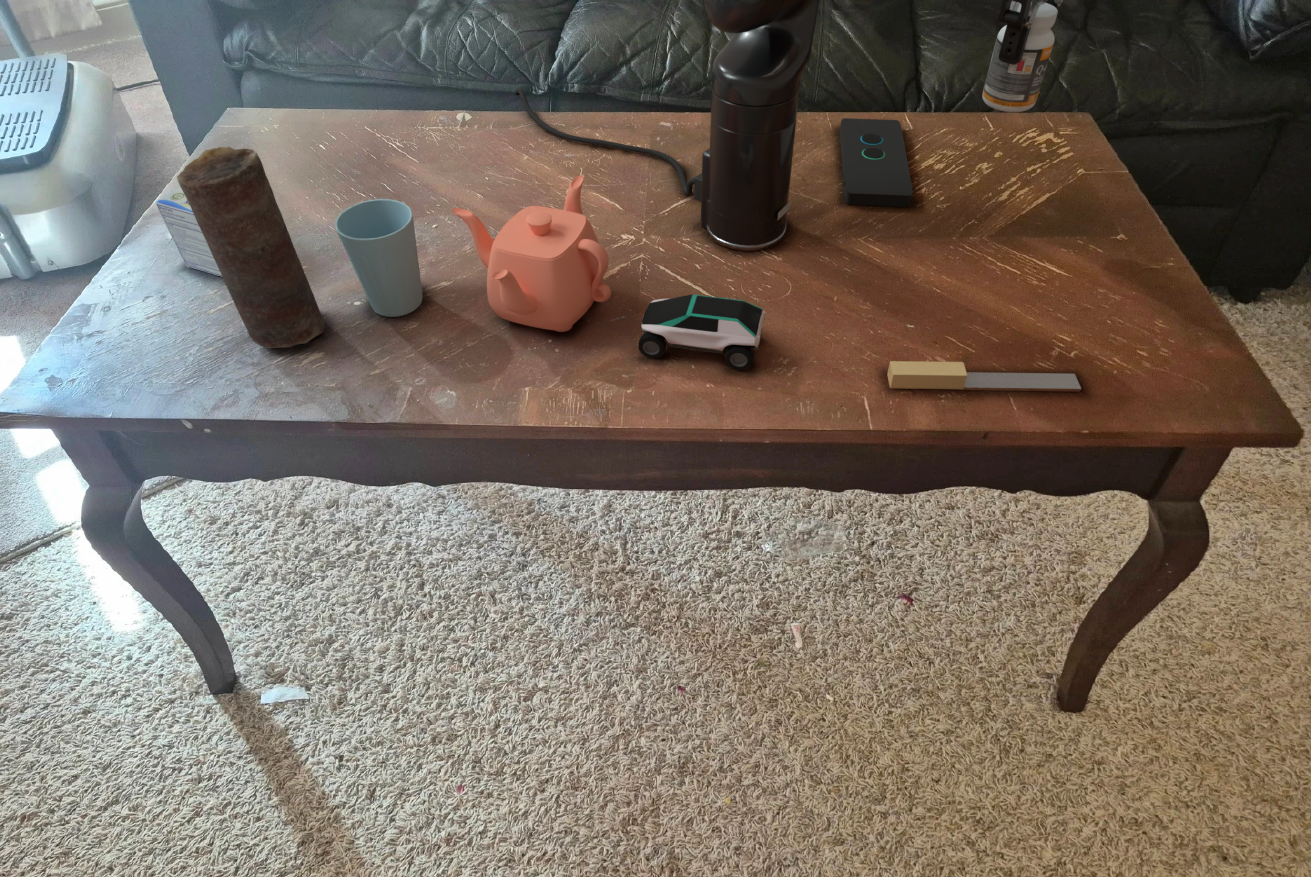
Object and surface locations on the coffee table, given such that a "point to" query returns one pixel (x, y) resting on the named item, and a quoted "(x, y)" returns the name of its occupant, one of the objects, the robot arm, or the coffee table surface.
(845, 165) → the smart home device
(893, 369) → the knife
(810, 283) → the coffee table surface
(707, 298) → the toy car
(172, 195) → the medicine box
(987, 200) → the coffee table surface
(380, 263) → the cup
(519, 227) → the teapot
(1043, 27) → the pill bottle
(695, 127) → the coffee table surface
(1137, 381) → the coffee table surface
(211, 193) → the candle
